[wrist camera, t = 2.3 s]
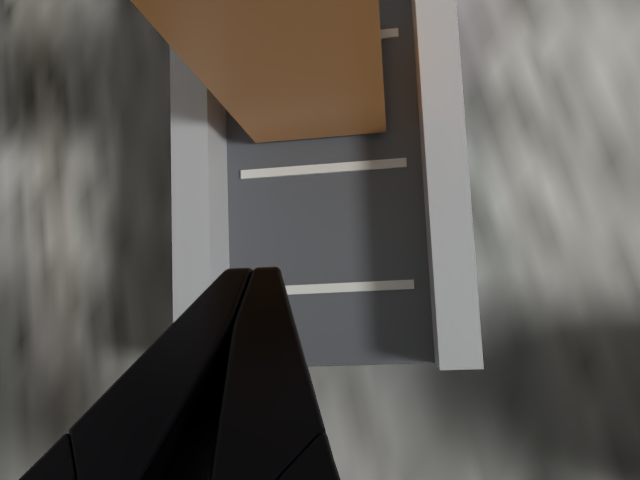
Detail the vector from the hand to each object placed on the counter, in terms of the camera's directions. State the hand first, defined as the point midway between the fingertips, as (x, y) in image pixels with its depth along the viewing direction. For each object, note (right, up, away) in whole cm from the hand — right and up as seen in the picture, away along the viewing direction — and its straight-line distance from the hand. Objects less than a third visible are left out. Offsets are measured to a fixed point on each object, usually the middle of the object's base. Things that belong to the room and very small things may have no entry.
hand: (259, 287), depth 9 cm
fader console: (+1, +6, +12) cm, 14 cm away
